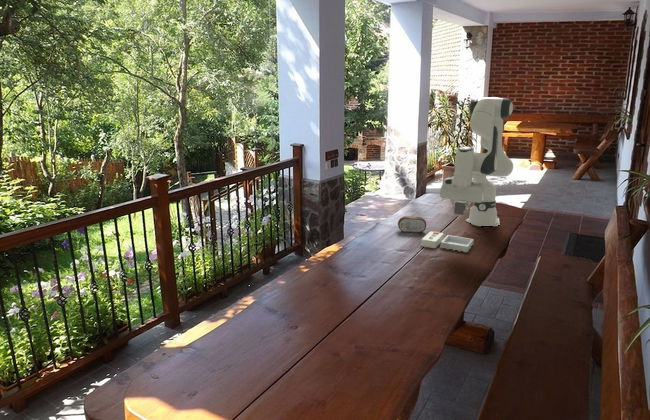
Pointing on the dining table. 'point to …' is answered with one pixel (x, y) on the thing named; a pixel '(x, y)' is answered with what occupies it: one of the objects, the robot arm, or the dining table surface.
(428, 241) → the power strip
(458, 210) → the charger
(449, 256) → the dining table surface
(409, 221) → the tin
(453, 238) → the tray
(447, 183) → the robot arm
